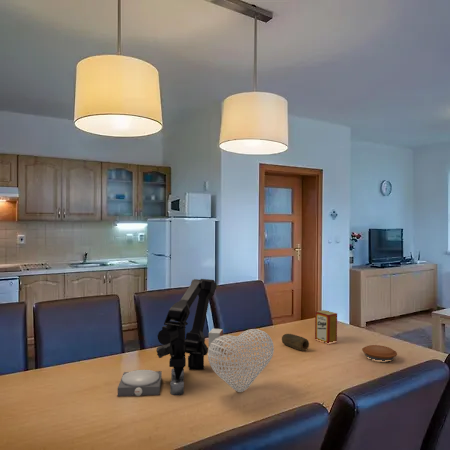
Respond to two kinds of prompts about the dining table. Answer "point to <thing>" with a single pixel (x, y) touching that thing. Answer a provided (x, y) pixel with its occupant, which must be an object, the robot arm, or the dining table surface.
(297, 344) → the stone weight
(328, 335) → the baking soda box
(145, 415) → the dining table surface
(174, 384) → the cylinder
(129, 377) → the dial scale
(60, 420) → the dining table surface
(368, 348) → the pie
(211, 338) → the small box
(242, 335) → the heart
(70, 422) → the dining table surface
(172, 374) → the cylinder
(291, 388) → the dining table surface
